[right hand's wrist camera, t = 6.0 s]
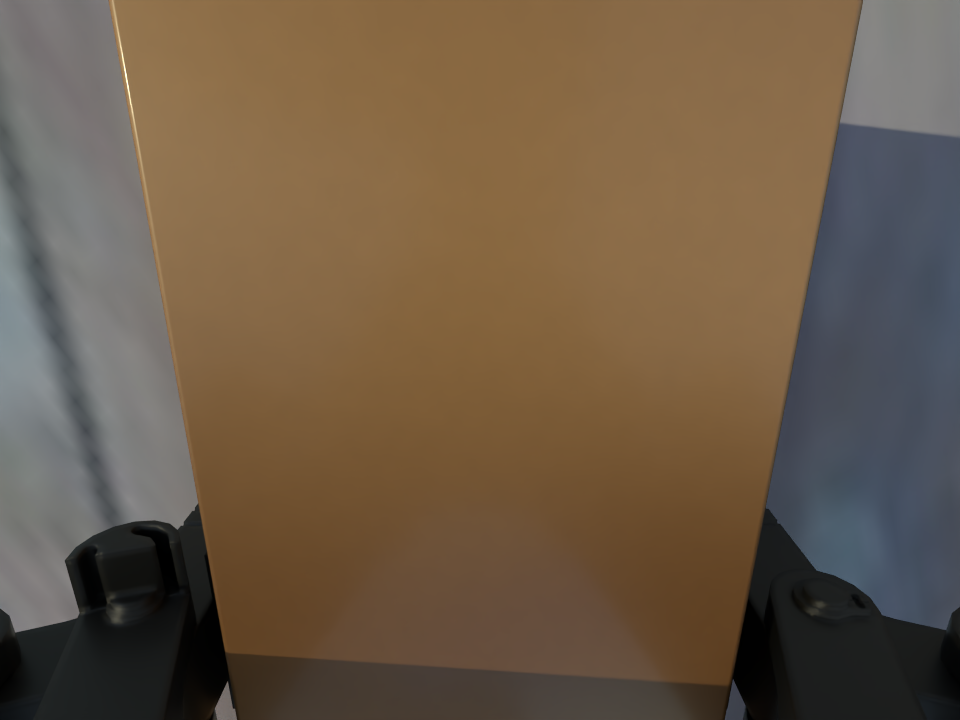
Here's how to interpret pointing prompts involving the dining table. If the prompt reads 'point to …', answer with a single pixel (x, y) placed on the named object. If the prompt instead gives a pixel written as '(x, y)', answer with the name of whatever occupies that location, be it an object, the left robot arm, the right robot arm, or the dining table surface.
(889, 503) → the dining table surface
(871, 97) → the dining table surface
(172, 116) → the post
